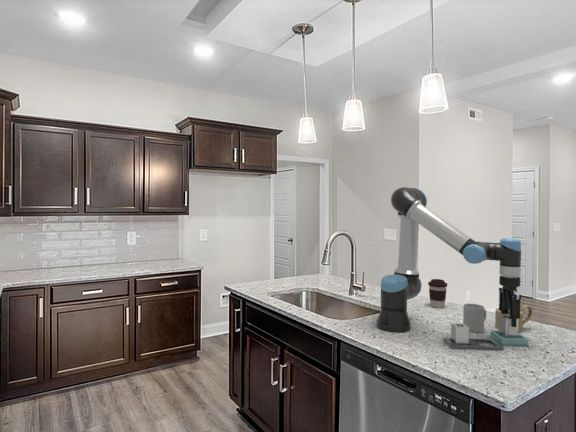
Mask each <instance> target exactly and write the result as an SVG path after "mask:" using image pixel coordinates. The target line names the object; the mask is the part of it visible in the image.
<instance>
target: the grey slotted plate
mask: <svg viewBox="0 0 576 432" xmlns="http://www.w3.org/2000/svg"><path fill="white" fill-rule="evenodd" d="M442 341H443V342H444V343H445V344H446V346H448V347H449V349H453V350H454V349H455V350H479V351H480V350H481V351H483V350H485V351H504V350H505V349H504V348H505V347H504V345H501V344H499V343H498V342H497V341H495V340H494V339H493V338H469V345H454V344H453V343H452V342H451V337H443V339H442ZM481 344H482V345H481ZM483 344H491V345H483Z"/></svg>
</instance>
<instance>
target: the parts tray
mask: <svg viewBox="0 0 576 432" xmlns="http://www.w3.org/2000/svg"><path fill="white" fill-rule="evenodd" d="M489 335H490V339H493V340H495V341H496V342H497V343H500V345H501V346H508V347H511V346H512V347H529V338H527V337H525V336H524V335H523V334H521V333H520V332H519V333H518V338H505V337H503V336H502V335H500V330H498V329H497V330H496V329H495V330H493V329H491V330H490V334H489Z"/></svg>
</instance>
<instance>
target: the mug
mask: <svg viewBox="0 0 576 432" xmlns="http://www.w3.org/2000/svg"><path fill="white" fill-rule="evenodd" d="M462 320H463V323H462V324H465V325H466V326H468V327H469V333H473V334H480V333H481V334H482V333H483V332H485V322H486V321H487V309H485V306H484V305H481V304H478V303H464V304H463V319H462Z"/></svg>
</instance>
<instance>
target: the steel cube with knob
mask: <svg viewBox="0 0 576 432" xmlns="http://www.w3.org/2000/svg"><path fill="white" fill-rule="evenodd" d="M508 317H510V315H500V330H499V331H500V335H502V336H503V337H505V338H518V326H519V319H517V324H516V335H511V334H508V333H509V318H508Z"/></svg>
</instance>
